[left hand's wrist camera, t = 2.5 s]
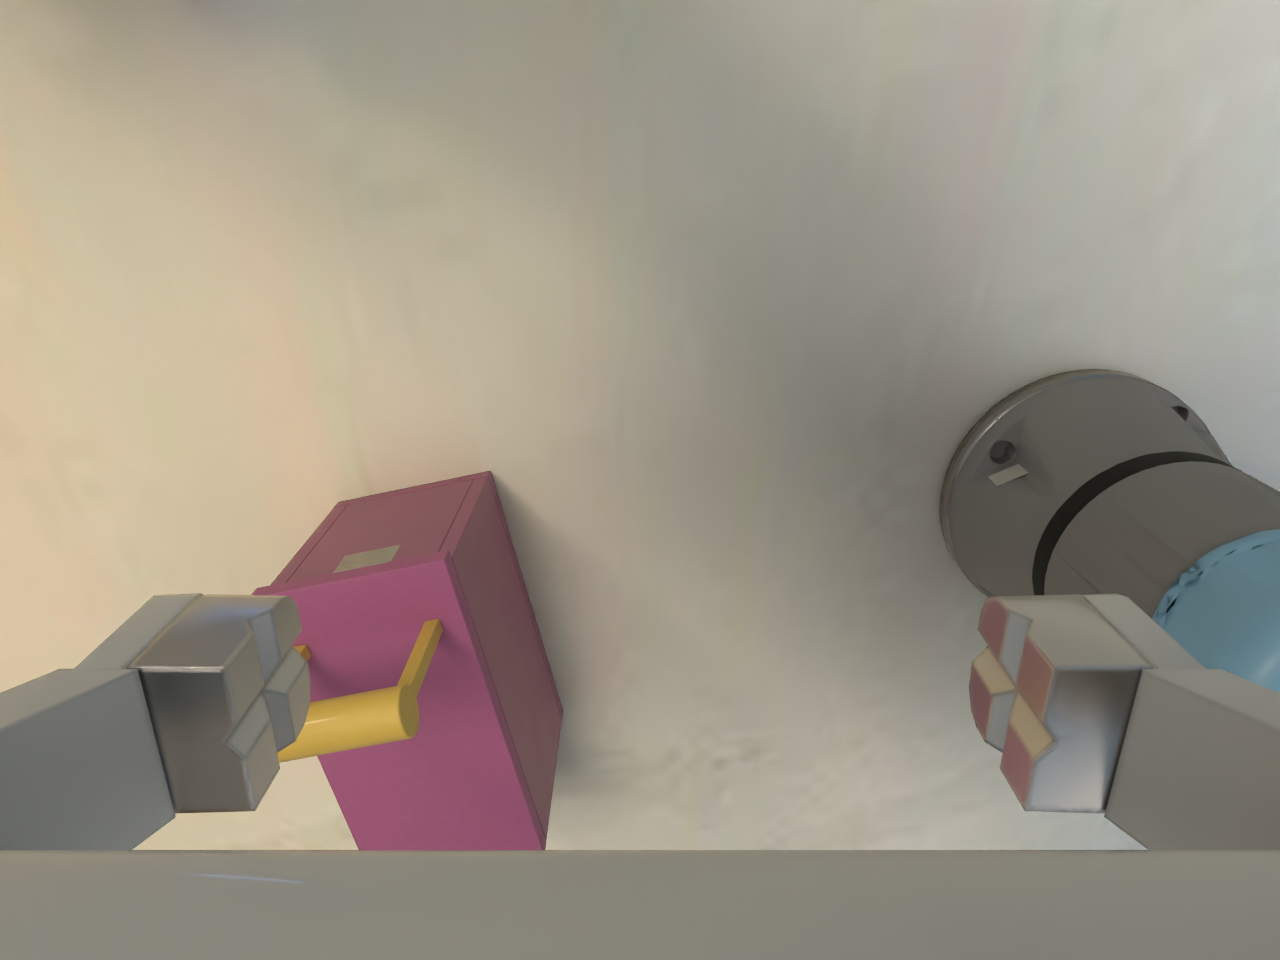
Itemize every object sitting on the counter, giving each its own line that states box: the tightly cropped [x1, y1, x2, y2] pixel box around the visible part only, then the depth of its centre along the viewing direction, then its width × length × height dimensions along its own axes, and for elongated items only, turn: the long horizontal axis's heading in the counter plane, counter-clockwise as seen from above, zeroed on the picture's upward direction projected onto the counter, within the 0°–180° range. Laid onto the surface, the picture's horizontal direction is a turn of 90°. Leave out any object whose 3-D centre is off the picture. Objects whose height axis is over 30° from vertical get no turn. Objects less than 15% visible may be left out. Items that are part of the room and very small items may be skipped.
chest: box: [270, 471, 563, 840], centre depth 48 cm, size 18×10×11 cm, turn 12°
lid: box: [252, 550, 546, 850], centre depth 39 cm, size 18×10×9 cm, turn 12°
